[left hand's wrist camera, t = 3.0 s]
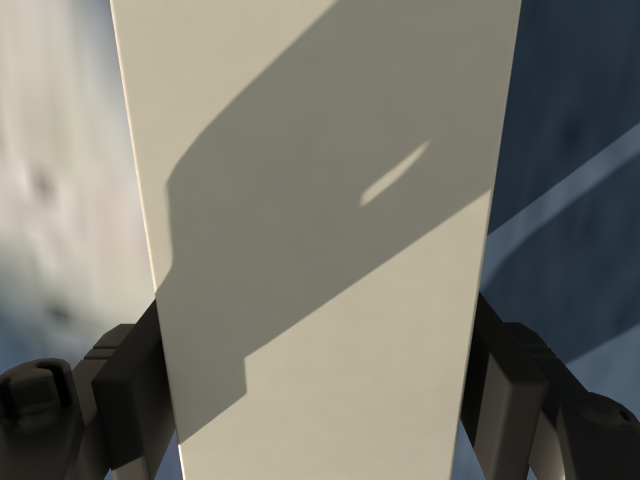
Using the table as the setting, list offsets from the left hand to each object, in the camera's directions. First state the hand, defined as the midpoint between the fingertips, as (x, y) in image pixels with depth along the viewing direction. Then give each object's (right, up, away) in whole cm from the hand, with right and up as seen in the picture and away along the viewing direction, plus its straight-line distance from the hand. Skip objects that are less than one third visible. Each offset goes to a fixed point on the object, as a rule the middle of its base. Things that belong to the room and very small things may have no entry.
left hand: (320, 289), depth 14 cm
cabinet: (0, +5, +4) cm, 6 cm away
